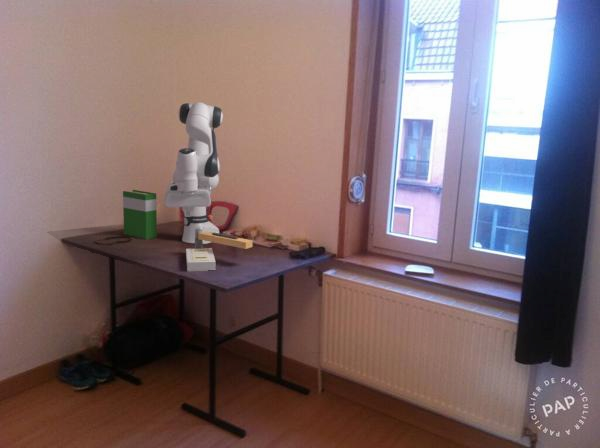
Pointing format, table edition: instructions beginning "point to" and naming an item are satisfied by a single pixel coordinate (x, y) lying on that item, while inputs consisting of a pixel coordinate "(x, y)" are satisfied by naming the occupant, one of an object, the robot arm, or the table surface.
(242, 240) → the light wooden bar
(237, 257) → the table surface
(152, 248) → the table surface
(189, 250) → the two-drawer filing cabinet
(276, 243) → the table surface
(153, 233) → the hardback book
